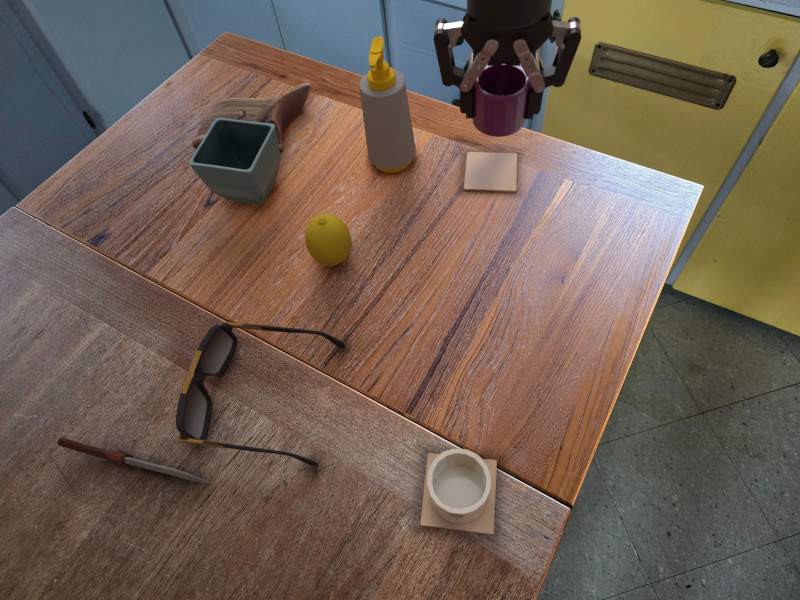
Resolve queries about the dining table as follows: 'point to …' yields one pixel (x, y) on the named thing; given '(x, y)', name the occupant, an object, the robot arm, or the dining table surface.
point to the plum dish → (500, 100)
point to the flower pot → (238, 160)
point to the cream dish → (459, 485)
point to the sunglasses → (213, 363)
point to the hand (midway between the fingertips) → (499, 113)
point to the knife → (126, 459)
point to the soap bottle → (386, 113)
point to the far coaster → (491, 172)
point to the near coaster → (478, 525)
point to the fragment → (258, 111)
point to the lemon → (328, 239)
